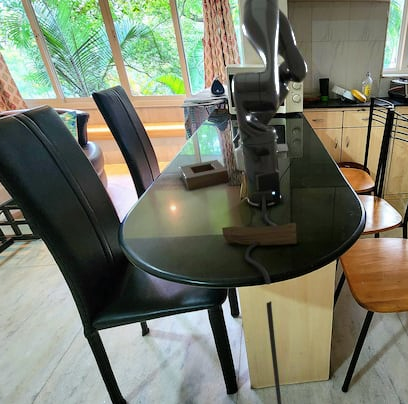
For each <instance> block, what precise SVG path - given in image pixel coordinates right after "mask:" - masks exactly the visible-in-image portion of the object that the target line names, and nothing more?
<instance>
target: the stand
mask: <svg viewBox="0 0 408 404" xmlns="http://www.w3.org/2000/svg"><path fill="white" fill-rule="evenodd" d="M179 170H180V175H181V178H182V181H183V182H184V184H185V186H186V187H187V189H188V191H191V190H196V189H201V188H205V187H210V186H215V185H219V184H224V183H228V182H230V178H229V172H228V171H229V170H228V169H227V168H226V167H225V166H224V165H223V164H222V163H221V162H220V161H219V160H218V159H213V160H208V161H203V162H198V163H192V164H186V165H180V166H179Z"/></svg>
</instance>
